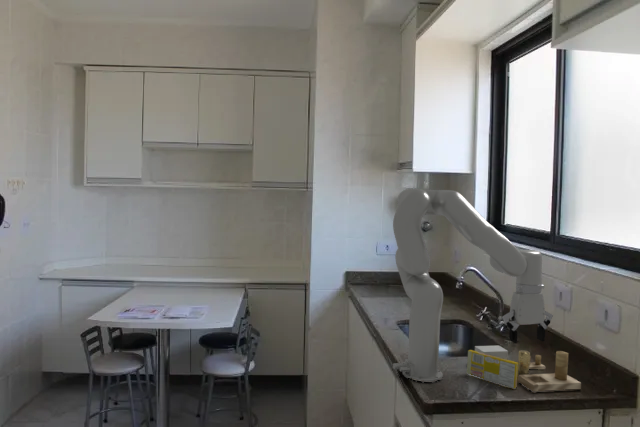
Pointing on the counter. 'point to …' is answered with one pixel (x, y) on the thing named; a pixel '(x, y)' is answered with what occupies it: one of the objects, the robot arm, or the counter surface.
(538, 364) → the wooden knobbed lid
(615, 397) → the counter surface
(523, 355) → the peg
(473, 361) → the candy box
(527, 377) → the board
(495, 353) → the cover
